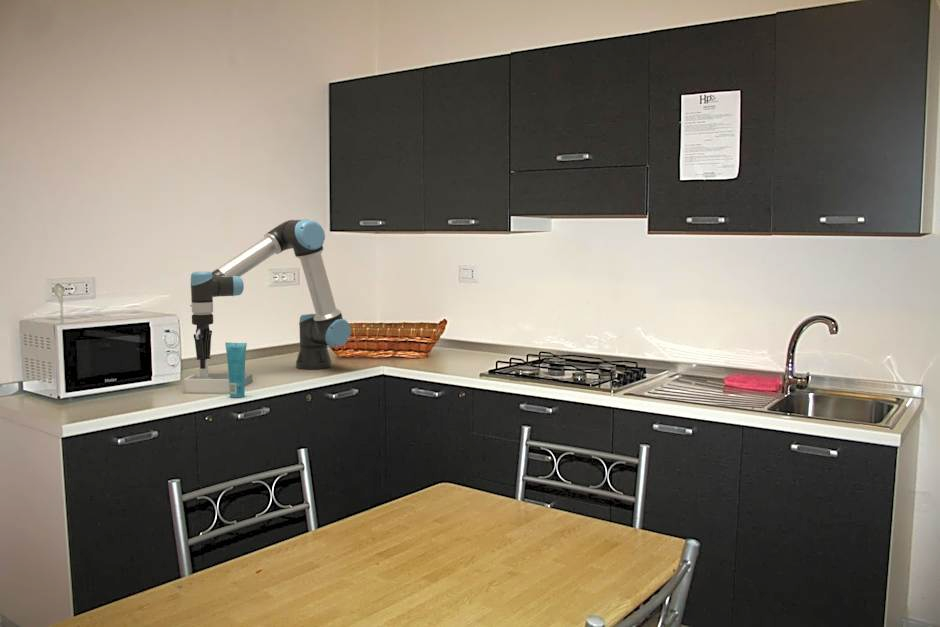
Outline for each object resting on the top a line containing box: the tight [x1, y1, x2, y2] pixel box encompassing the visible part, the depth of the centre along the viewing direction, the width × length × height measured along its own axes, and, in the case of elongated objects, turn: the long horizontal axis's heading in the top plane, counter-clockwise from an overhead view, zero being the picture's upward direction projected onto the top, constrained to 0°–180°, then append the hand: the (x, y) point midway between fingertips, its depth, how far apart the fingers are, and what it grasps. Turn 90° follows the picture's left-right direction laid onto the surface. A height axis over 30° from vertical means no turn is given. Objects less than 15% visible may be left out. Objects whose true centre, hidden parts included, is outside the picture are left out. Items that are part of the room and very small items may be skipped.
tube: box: [225, 342, 248, 398], centre depth 285 cm, size 7×5×19 cm, turn 96°
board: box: [208, 373, 253, 387], centre depth 308 cm, size 18×13×3 cm
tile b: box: [194, 376, 212, 379], centre depth 298 cm, size 6×6×2 cm
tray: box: [182, 373, 230, 395], centre depth 297 cm, size 18×11×5 cm, turn 89°
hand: (204, 376), depth 301 cm, fingers closed
